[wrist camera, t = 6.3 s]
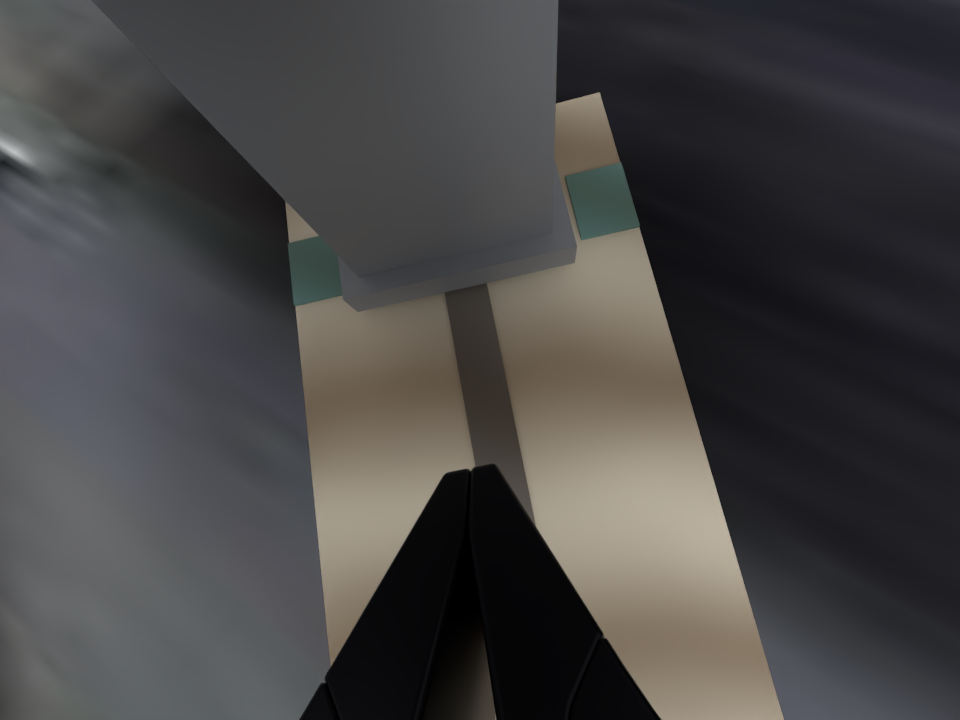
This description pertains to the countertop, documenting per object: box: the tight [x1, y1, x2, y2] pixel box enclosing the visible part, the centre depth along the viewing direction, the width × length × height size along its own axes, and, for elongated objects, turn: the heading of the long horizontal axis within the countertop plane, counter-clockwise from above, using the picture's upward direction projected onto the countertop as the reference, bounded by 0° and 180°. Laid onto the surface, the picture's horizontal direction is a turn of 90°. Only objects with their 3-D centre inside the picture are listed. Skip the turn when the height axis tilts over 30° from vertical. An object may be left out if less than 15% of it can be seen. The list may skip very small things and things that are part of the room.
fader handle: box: [92, 0, 577, 312], centre depth 9 cm, size 4×6×10 cm, turn 101°
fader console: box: [285, 72, 784, 720], centre depth 13 cm, size 17×10×4 cm, turn 11°
